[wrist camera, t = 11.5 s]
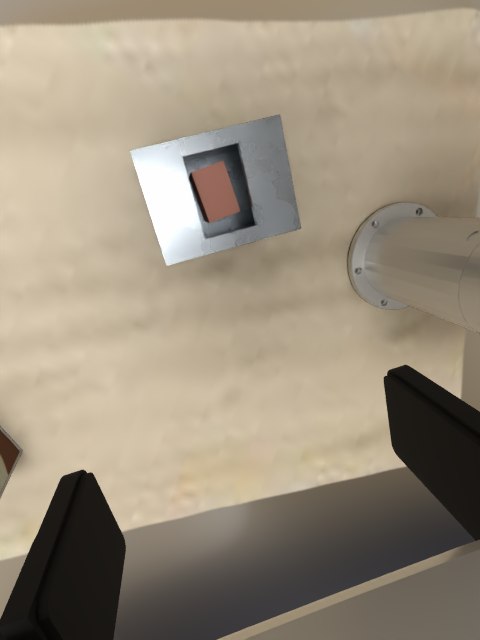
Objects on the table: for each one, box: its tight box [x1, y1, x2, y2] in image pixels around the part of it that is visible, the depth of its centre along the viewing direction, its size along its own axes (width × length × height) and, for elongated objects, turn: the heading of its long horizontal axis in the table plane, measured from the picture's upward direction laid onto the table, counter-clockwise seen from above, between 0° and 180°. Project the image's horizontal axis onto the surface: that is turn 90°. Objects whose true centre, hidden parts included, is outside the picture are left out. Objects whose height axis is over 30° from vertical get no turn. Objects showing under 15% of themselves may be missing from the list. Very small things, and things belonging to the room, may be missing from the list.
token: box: [189, 161, 240, 223], centre depth 34 cm, size 3×4×6 cm, turn 19°
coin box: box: [130, 114, 301, 266], centre depth 33 cm, size 12×9×9 cm
